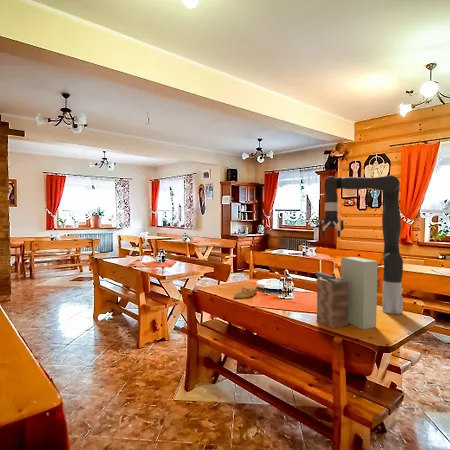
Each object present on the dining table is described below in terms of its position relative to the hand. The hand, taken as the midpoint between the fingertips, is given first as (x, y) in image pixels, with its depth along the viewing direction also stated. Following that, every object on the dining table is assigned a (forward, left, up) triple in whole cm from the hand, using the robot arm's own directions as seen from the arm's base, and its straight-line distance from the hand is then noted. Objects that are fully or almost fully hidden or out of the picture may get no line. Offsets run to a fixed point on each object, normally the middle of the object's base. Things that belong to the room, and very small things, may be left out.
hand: (330, 237), depth 199 cm
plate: (+30, -37, -40) cm, 63 cm away
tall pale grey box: (-5, +35, -40) cm, 54 cm away
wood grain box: (+8, +36, -40) cm, 55 cm away
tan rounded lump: (+51, -14, -41) cm, 67 cm away
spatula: (+9, +35, -19) cm, 40 cm away
